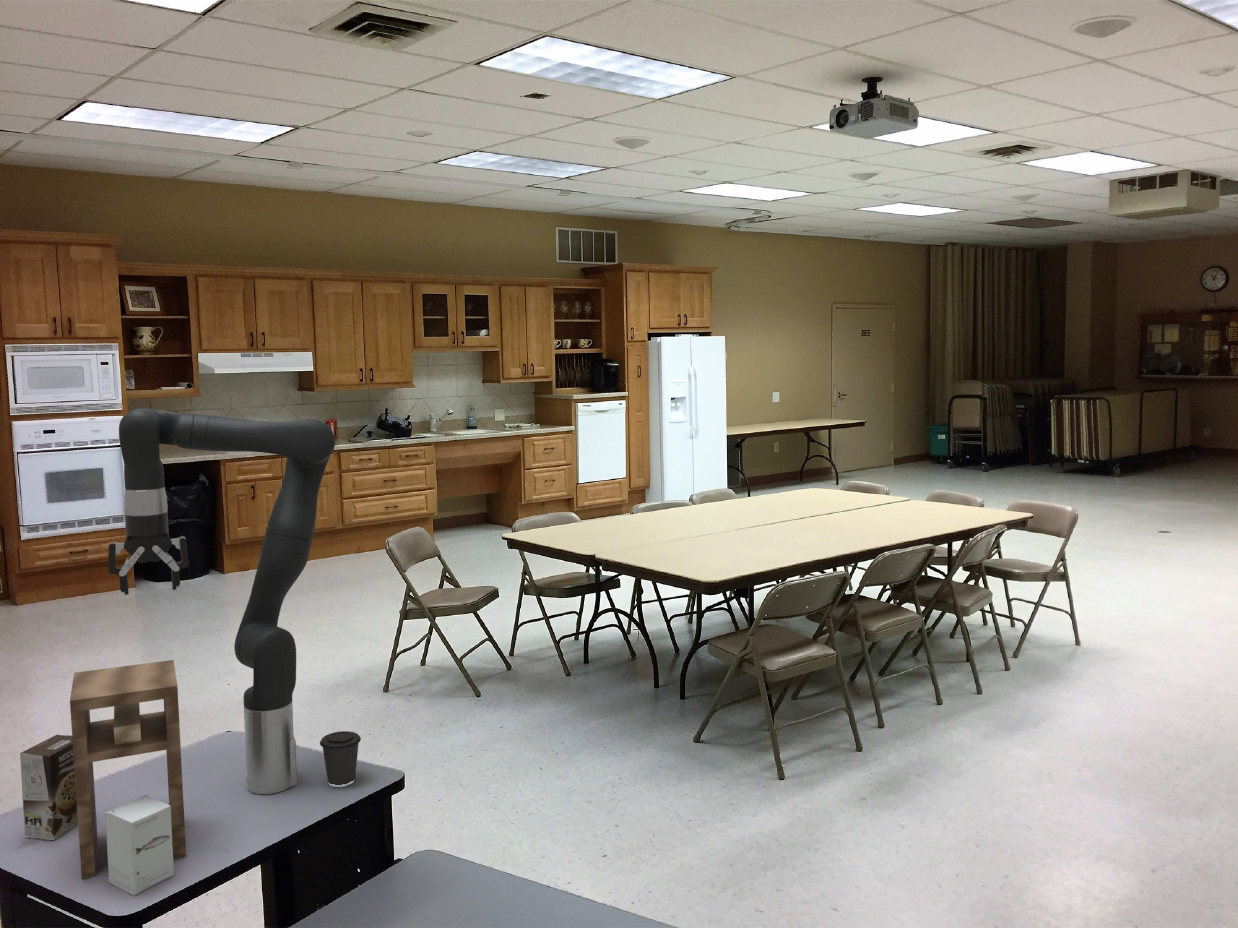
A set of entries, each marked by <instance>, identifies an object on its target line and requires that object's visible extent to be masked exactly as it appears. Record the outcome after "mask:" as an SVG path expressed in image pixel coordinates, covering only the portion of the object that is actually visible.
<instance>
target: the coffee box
mask: <svg viewBox="0 0 1238 928" xmlns="http://www.w3.org/2000/svg"><path fill="white" fill-rule="evenodd" d="M19 758H20V775H21V777H20V778H21V790H22V793H21V794H22V807H23V810H22V811H23V821H24V822H23V824H24V825H23V826H24V837H25V836H29V837H35V838H34V839H36V838H40V839H39V840H43V839H46V840H45V841H50V840H53V841H56V840H57V839H59V838H60V837H61V836H63V835H65V834H66V833H68V832H70V831H71V830H72V829H74V828H76V827H78V816H77V801H76V786H75V771H74V756H73V741H72V735H69V734H68V735H62V734H55V735H53V736H52V737H49V738H47V739H45V740H44V741H42V742H39V743H38V744H35V745H34V746H31V747H30V748H27V749H26V750H24V751H22V752H19ZM55 839H56V840H55Z"/></svg>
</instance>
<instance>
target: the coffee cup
mask: <svg viewBox="0 0 1238 928" xmlns="http://www.w3.org/2000/svg"><path fill="white" fill-rule="evenodd" d="M361 739H362V737H361V736H360V734H359V733H357V732H354V731H350V730H347V731H346V730H344V731H335V732H332V733H328V734H326V735H324V736H323V737H321V740H320V741H319V745H320V747H321V748H322V752H323V759H324V765H325V766H324V767H325V770H326V778H327V779H326V780H327V783H328V782H329V783H330V784H335V785H342V784H347V783H349V782H351V781H353V780H354V779H355V780H356V778H355V777H356V776H357V775H356V774H357V765H358V754H359V743H360V742H361Z"/></svg>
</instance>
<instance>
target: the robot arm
mask: <svg viewBox="0 0 1238 928" xmlns="http://www.w3.org/2000/svg"><path fill="white" fill-rule="evenodd" d="M118 439H119V445H120V446H119V447H120V451H121V455H122V460H123V478H124V479H123V481H124V483H123V484H124V497H123V498H124V500H123V505H124V506H123V511H124V522H125V523H124V526H125V540H124V542H115V541H110V542H109V543H108V558H107V559H108V562H107V563H108V564H107V565H108V568H107V571H108V574H110V575H116V576H118V577H119V589H120V592H121V593H124V596H126V595H127V596H129V594H130V593H129V578H128V576H129V575H128V572H129V571H130V569H131V568H133V566H134V565H135V564H136V562H137V563H140V564H145V563H148V562H152V563H156V562H159V561H160V560H162V561H163V562H164V563H165V564H166V565H167V566H168V567H169V568H170V570H171V585H172V588H171V589H172V590H173V591H177V587H180V585H181V580H180V577H181V576H180V571H181V570H182V569H185V568H188V567H189V566H190V562H189V552H188V544H187V538H186V536H183V535H181V536H179V537H176V538H171V537H170V535H169V516H168V508H169V507H168V498H167V493H166V487H165V470H164V464H163V461H162V460H161V458H160V457H161V455H160V445H166V446H169V445H170V446H176V447H178V448H180V449H187V450H193V451H195V450H197V451H207V452H222V453H223V452H225V453H226V452H227V453H229V452H231V453H234V452H235V453H236V452H244V453H245V452H246V453H247V452H250V453H264V454H272V455H278V456H281V457H286V462H285V468H284V476H283V479H282V480H283V481H282V484H281V487H280V490H279V493H278V496H277V498H276V500H275V502H274V505H273V506H272V507H273V508H272V511H271V513H270V516H269V518H268V522H267V526H266V529H265V533H264V537H263V542H262V546H261V550H260V555H259V560H258V563H257V568H256V572H255V575H254V580H253V584H252V587H251V591H250V594H249V595H250V596H249V599H248V602H247V604H246V606H245V607H246V608H245V610H244V612H243V615H242V618H241V622H240V623H239V627H238V630H237V633H236V636H235V640H234V647H233V649H234V654H235V658H236V660H237V661H238V662H239V663H240V664H242V665H243V666H245V667H247V668H250V669H252V671H253V672H252V674H253V675H252V676H253V680H252V682H253V683H252V686H250V687H248V688H247V689H246V690H244V692H243V697H242V698H243V716H244V717H243V721H244V740H245V742H244V744H245V745H244V746H245V764H246V765H245V766H246V767H245V768H246V785H247V787H246V788H247V790H248V791H249V792H250V793H253V794H258V795H270V794H271V795H272V794H277V793H280V792H283V791H286V790H288V789H290V788H291V787H295V785H296V786H298V771H297V770H298V769H297V767H298V766H297V744H296V739H295V735H294V734H295V732H294V711H293V710H294V708H293V706H294V705H293V693H294V690H295V688H296V683H297V646H296V640H295V638H294V636H293V635H292V633H291V632H290V631H289V630H287V629H285V628H284V627H283V628H282V627H280V626H278V625H279V624H278V622H279V619H280V614H281V613H280V612H281V609H282V605H283V603H284V600H285V598H286V596H287V594H288V592H289V591H290V590H291V588H292V587H293V585H294V584H295V582H296V581H297V580H298V578H299V577H300V576H301V574H302V572H303V571H304V569H305V567H306V565H307V563H308V560H309V555H310V552H311V547H312V543H313V539H314V533H315V528H316V522H317V521H316V520H317V513H318V512H317V511H318V508H317V507H318V498H319V491H320V487H321V482H322V480H323V477H324V474H325V471H326V468H327V465H328V462H329V459H330V458H331V455H332V454H333V452H334V451H335V447H336V437H335V433H334V431H333V430H332V429H331V427H330V426H329V425H328V424H327V423H326V422H323V421H322V420H320V419H314V418H308V419H303V420H288V421H286V420H285V421H267V420H266V421H263V420H252V419H251V420H250V419H241V418H237V417H236V418H234V417H229V416H228V417H227V416H219V415H210V414H198V413H180V412H174V411H169V410H163V409H157V408H156V409H155V408H148V407H147V408H146V407H140V408H136V409H133V410H131V411H129V412H127V413H125V414H124V415H123V416H122V418H121V419H120V422H119V425H118ZM172 545H174V546H175V548H176V549H177V550H179V551H180V558H181V560H180V561H176V560H175V559H174V558H173V557H172V555H170V553H168V551H169V549H170V548H171V547H172ZM122 549H124V550H125V551H126V553H128V555H129V556H128V557H127V558H126V559H125V562H124V563H123V565H121V567H118V566H116V565H117V564H116V563H117V562H116V560H117V559H116V557H117V556H116V555H117V554H120V553H121V551H122Z"/></svg>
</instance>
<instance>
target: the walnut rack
mask: <svg viewBox="0 0 1238 928" xmlns="http://www.w3.org/2000/svg"><path fill="white" fill-rule="evenodd" d="M72 677H73V679H72V684H71V689H70V690H71V691H70V697H69V707H70V709H69V710H70V723H71V724H70V725H71V736H72V741H73V756H74V771H75V786H76V801H77V816H78V825H77V827H78V829H77V830H78V831H77V832H78V842H79V843H78V845H79V857H80V859H79V860H80V861H79V862H80V873H81V874H80V875H81V879H82V880H83V879H89V878H93V877H96V872H97V871H96V869H97V852H98V848H97V847H98V824H97V823H98V821H97V820H98V819H97V808H96V793H95V792H96V791H95V777H94V762H95V763H96V762H100V761H106V760H112V759H119V758H120V759H121V758H124V757H130V756H135V755H136V756H137V755H143V754H149V753H155V752H162V751H165V753H166V766H167V767H166V768H167V771H166V773H167V785H168V786H167V787H168V805H170V806H171V824H172V846H173V860H177V859H181V858H182V859H183V858H186V857H187V847H186V846H187V845H186V843H187V841H186V825H185V807H184V806H185V805H184V789H183V788H184V787H183V786H184V785H183V767H182V766H183V765H182V747H181V746H182V745H181V731H180V730H181V729H180V710H179V708H180V707H179V706H180V705H179V693H178V692H179V691H178V689H179V687H178V680H177V674H176V668H175V661H174V659H170V660H162V661H155V662H154V661H153V662H147V663H146V662H145V663H140V664H139V663H138V664H131V665H124V666H123V665H121V666H116V667H109V668H102V669H101V668H99V669H94V670H93V669H92V670H86V671H78V672H74V673H73V676H72ZM161 700H163V710H162V711H155V712H150V713H141V714H140V728H141V741H135V742H129V743H123V744H117V745H115V741H114V718H108V719H103V720H97V721H91V713H90V712H91V711H92V710H98V709H105V708H112V707H113V708H114V706H120V705H127V704H134V703H139V704H140V703H147V702H153V701H161Z"/></svg>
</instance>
